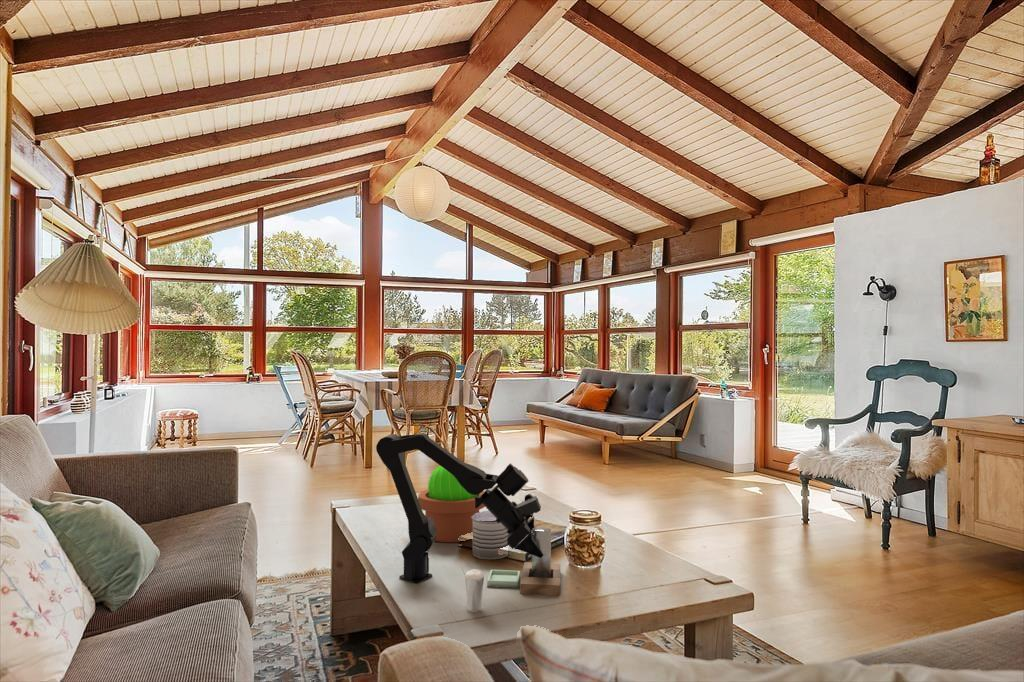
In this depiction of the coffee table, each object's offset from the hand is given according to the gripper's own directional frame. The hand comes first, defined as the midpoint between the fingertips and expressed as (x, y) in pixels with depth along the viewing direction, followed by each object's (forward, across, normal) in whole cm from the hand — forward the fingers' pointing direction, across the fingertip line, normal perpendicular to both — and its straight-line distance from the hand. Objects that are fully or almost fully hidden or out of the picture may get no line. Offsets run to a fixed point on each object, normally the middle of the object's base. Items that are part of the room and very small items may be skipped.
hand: (543, 550), depth 167 cm
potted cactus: (-16, +39, +28) cm, 50 cm away
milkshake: (-5, -19, +17) cm, 26 cm away
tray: (-1, 0, +13) cm, 13 cm away
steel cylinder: (+6, 0, +6) cm, 8 cm away
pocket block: (+6, 0, +6) cm, 8 cm away
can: (-6, +22, +18) cm, 29 cm away
